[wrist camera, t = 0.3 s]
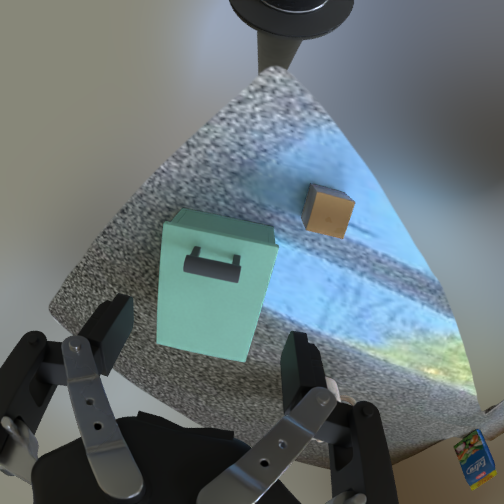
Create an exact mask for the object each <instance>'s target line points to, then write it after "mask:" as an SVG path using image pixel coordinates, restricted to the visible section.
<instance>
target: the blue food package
mask: <svg viewBox="0 0 504 504" xmlns="http://www.w3.org/2000/svg"><path fill="white" fill-rule="evenodd" d="M454 449H455V451H456V454H457V457H458V459H459V462H460V465H461V467H462V471H463V473H464V476H465V479H466V481H467V483H468V484H469V485H470V487H471V490H474V489H476V488H477V487H479V486H480V485H482V484H483V483H485V482H487V481H488V480H490V479H491V478H492V477H494V476H495V475H496V474H497V473H496V470H495V463H494V460H493V458H492V455H491V453H490V451H489V448H488V446H487V444H486V441H485V439H484V437H483V435H482V432H481V430H478V429H476V430H475V431H474V432H472V433H471V434H469V435H468V436H467V437H466V438H464V439H463V440H462V441H460V442H459V443H457V444H456V445H455V446H454Z"/></svg>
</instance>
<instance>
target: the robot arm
mask: <svg viewBox="0 0 504 504" xmlns="http://www.w3.org/2000/svg"><path fill="white" fill-rule="evenodd" d="M260 1H261V2H262V3H263V4H264V5H266V6H267V7H269V8H271V9H273V10H275V11H278V12H281V13H286V14H294V15H301V14H308V13H312V12H315V11H317V10H319V9H320V8H322V7H323V6H324V5H325V4H326V3H327V2H328V0H260ZM133 323H134V315H133V297H131V296H128V295H124V294H120V293H118V294H117V295H116V297H115V298H114V299H113V301H109V300H107V301H105V302H103V303H102V304H100V305H99V306H98V308H97V309H96V310H95V312H94V313H93V314H92V316H91V317H90V318H89V320H88V321H87V322H86V324H85V325H84V326H83V328H82V329H81V331H80V332H79V333H78V335H73V336H70V337H68V338H66V339H65V340H64V341H63V342H53V341H47V339H46V336H45V335H44V334H43V333H42V332H40V331H30V332H28V333H26V334H25V335H24V336H23V337H22V338H21V340H20V341H19V342H18V344H17V345H16V346H15V348H14V349H13V351H12V352H11V353H10V355H9V356H8V358H7V359H6V361H5V362H4V364H3V365H2V367H1V368H0V470H1V471H2V472H3V473H4V474H6V475H8V476H16V477H18V478H20V479H22V480H23V481H25V482H27V483H29V484H30V485H32V489H33V499H34V502H33V504H301V503H300V502H299V501H298V500H297V499H296V498H295V497H294V495H293V494H292V493H291V492H290V491H289V490H288V489H287V488H286V487H285V486H284V484H283V483H282V482H281V481H280V480H279V479H278V478H279V477H280V476H281V475H282V474H283V473H284V472H285V471H286V469H287V468H288V467H289V466H290V465H291V463H293V461H294V460H295V459H296V458H297V457H298V455H299V454H300V453H301V452H302V451H303V449H304V448H305V447H306V446H307V444H308V443H309V442H310V441H311V439H312V438H314V439H317V440H321V441H324V442H327V443H328V445H329V457H330V470H331V484H332V499H331V500H329V501H328V502H326V503H325V504H399V502H398V497H397V491H396V485H395V480H394V475H393V470H392V465H391V460H390V455H389V451H388V446H387V442H386V438H385V433H384V429H383V425H382V421H381V417H380V413H379V410H378V409H377V407H376V406H375V405H373V404H372V403H370V402H367V401H360V402H357V403H356V404H355V405H354V406H351V405H348V404H345V403H342V402H339V401H337V399H336V396H335V395H334V394H333V393H332V392H331V391H330V390H328V387H327V383H326V378H325V374H324V369H323V367H322V366H323V365H322V361H321V356H320V351H319V350H318V349H317V347H316V346H315V345H314V344H310V343H308V338H307V334H306V333H303V332H297V331H291V332H290V334H289V336H288V339H287V341H286V344H285V347H284V349H283V352H282V355H281V361H280V365H281V379H282V394H283V410H284V415H285V416H284V417H283V418H282V419H281V420H280V421H279V422H278V423H277V424H276V425H275V426H274V427H273V428H272V429H271V430H270V431H269V432H268V433H267V434H266V435H265V436H264V437H263V438H262V439H261V440H260V441H259V442H258V443H256V444H255V445H254V446H253V447H252V448H251V447H250V446H249V445H247V444H246V443H244V442H242V441H240V440H238V439H236V438H234V431H228V430H221V429H215V428H184V427H181V426H179V425H177V424H175V423H173V422H171V421H169V420H167V419H164V418H163V417H160V416H156V415H152V414H149V413H145V412H141V411H139V412H138V415H137V417H135V416H132V417H122V418H118V419H115V417H114V414H113V412H112V410H111V407H110V404H109V401H108V399H107V396H106V393H105V390H104V387H103V385H102V382H101V378H100V375H101V374H102V375H104V376H107V377H108V375H109V373H110V371H111V369H112V367H113V365H114V363H115V361H116V359H117V358H118V356H119V354H120V352H121V350H122V348H123V346H124V344H125V342H126V340H127V338H128V337H129V335H130V333H131V331H132V328H133ZM58 385H64V386H67V387H68V391H69V395H70V399H71V403H72V407H73V411H74V414H75V418H76V421H77V425H78V428H79V431H80V434H81V437H80V438H78V439H76V440H74V441H72V442H70V443H68V444H66V445H64V446H61V447H59V448H57V449H55V450H53V451H51V452H49V453H46V454H44V455H43V456H41V457H40V458H39V459H38V456H37V452H38V441H37V439H36V437H35V436H34V435H35V433H36V430H37V428H38V425H39V423H40V421H41V419H42V416H43V414H44V412H45V410H46V408H47V406H48V404H49V402H50V400H51V398H52V396H53V393H54V392H55V390H56V388H57V386H58ZM286 415H287V416H286Z"/></svg>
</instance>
